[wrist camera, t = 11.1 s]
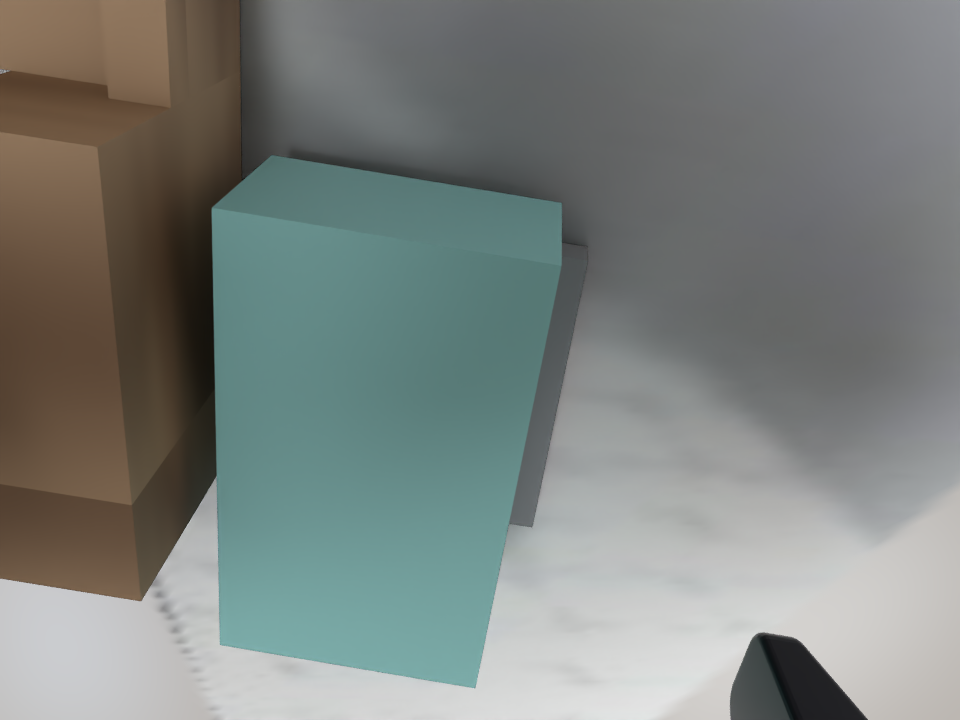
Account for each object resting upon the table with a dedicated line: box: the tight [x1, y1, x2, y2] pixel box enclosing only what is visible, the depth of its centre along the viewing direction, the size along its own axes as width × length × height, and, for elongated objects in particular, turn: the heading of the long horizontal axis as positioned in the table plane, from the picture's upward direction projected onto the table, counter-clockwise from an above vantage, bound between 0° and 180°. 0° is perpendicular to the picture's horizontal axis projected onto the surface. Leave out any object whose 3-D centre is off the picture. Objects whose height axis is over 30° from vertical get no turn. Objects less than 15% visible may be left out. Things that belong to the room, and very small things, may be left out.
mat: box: [509, 243, 588, 527], centre depth 15 cm, size 6×6×1 cm
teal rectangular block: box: [212, 155, 562, 688], centre depth 14 cm, size 8×4×2 cm, turn 172°
